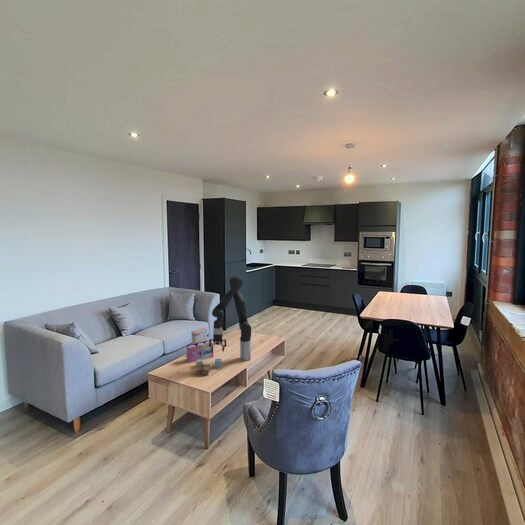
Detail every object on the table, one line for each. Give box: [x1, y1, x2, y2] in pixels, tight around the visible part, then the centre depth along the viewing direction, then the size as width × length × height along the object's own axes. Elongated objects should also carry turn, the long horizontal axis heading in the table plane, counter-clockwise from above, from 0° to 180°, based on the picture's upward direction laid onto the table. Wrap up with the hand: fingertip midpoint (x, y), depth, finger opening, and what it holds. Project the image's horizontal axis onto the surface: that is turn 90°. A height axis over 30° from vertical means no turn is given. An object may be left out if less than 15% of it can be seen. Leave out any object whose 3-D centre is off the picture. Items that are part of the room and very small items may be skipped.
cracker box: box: [191, 327, 208, 344], centre depth 301 cm, size 14×6×21 cm, turn 142°
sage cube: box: [195, 359, 204, 367], centre depth 270 cm, size 5×5×5 cm
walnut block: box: [195, 363, 211, 377], centre depth 258 cm, size 10×10×5 cm
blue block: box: [214, 358, 222, 369], centre depth 269 cm, size 5×5×6 cm
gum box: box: [186, 340, 214, 363], centre depth 286 cm, size 24×8×14 cm, turn 124°
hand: (217, 351), depth 268 cm, fingers open, 8 cm apart
